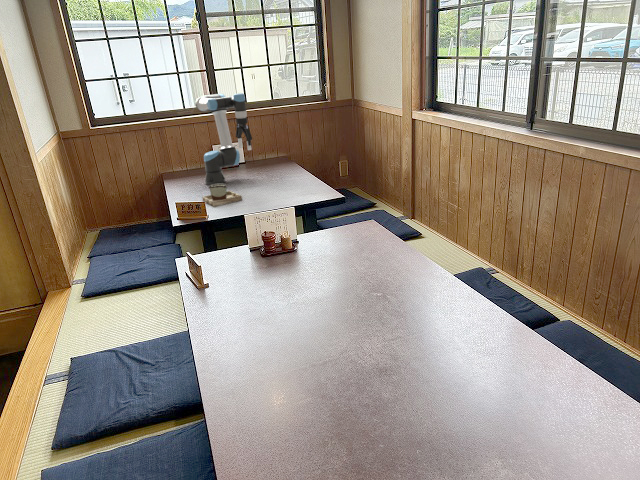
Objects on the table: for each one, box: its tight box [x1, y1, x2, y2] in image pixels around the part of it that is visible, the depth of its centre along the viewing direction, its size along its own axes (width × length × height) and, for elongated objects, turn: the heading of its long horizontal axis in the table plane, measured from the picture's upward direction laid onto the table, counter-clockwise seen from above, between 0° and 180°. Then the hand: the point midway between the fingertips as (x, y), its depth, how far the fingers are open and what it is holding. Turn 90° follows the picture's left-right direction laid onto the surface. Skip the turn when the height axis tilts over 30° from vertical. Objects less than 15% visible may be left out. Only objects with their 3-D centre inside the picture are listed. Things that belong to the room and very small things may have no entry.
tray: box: [201, 190, 243, 208], centre depth 317 cm, size 18×20×3 cm
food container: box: [208, 182, 228, 201], centre depth 316 cm, size 12×6×10 cm, turn 87°
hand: (245, 149), depth 331 cm, fingers open, 13 cm apart
